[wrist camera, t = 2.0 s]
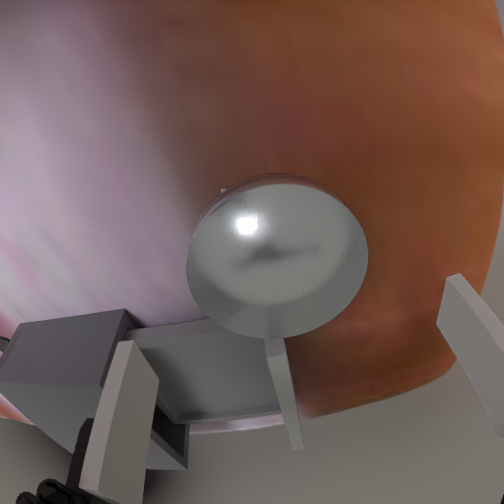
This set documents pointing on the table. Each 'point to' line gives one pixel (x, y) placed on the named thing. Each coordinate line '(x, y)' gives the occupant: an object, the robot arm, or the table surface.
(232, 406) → the tray
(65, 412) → the housing
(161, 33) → the table surface
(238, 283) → the disc
